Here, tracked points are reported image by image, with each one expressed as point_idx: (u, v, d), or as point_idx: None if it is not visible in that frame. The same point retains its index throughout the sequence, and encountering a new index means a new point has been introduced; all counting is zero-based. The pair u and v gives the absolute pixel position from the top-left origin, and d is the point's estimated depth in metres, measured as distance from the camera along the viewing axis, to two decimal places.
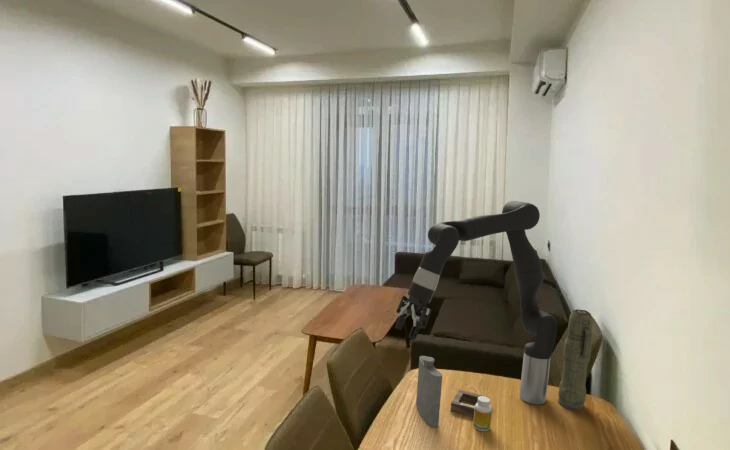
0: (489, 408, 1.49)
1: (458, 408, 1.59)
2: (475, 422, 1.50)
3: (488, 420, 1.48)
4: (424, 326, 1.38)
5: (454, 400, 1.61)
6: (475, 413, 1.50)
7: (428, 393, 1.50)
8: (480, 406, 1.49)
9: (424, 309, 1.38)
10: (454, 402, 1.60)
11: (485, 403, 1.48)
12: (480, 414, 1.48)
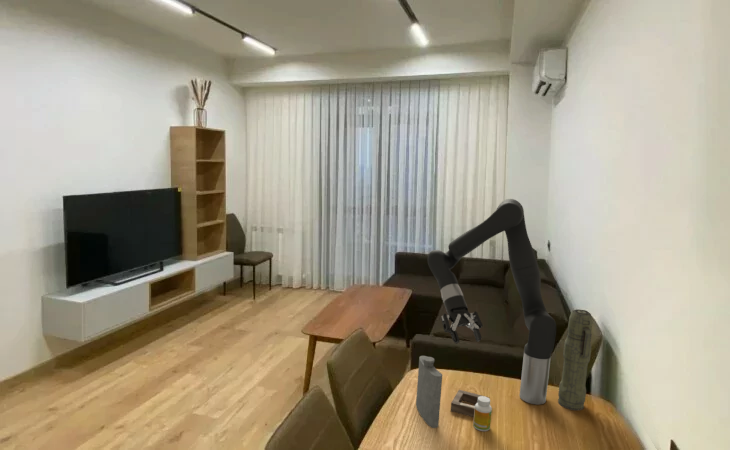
0: (489, 408, 1.49)
1: (458, 408, 1.59)
2: (475, 422, 1.50)
3: (488, 420, 1.48)
4: (446, 328, 1.58)
5: (454, 400, 1.61)
6: (475, 413, 1.50)
7: (428, 393, 1.50)
8: (480, 406, 1.49)
9: None
10: (454, 402, 1.60)
11: (485, 403, 1.48)
12: (480, 414, 1.48)
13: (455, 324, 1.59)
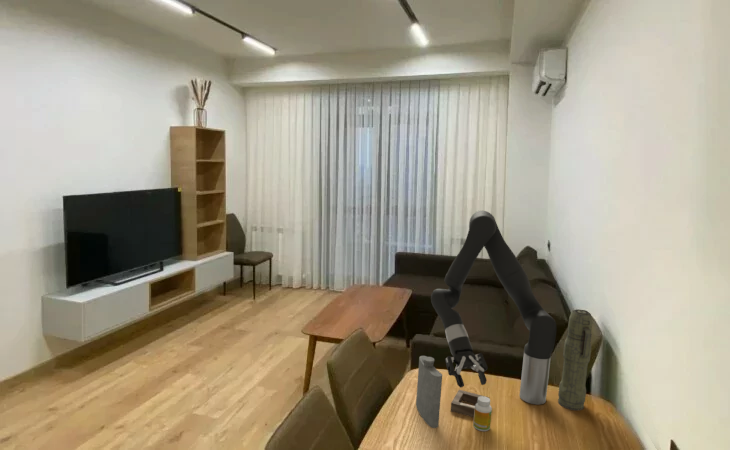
0: (489, 408, 1.49)
1: (458, 408, 1.59)
2: (475, 422, 1.50)
3: (488, 420, 1.48)
4: (450, 371, 1.56)
5: (454, 400, 1.61)
6: (475, 413, 1.50)
7: (428, 393, 1.50)
8: (480, 406, 1.49)
9: None
10: (454, 402, 1.60)
11: (485, 403, 1.48)
12: (480, 414, 1.48)
13: (460, 367, 1.57)
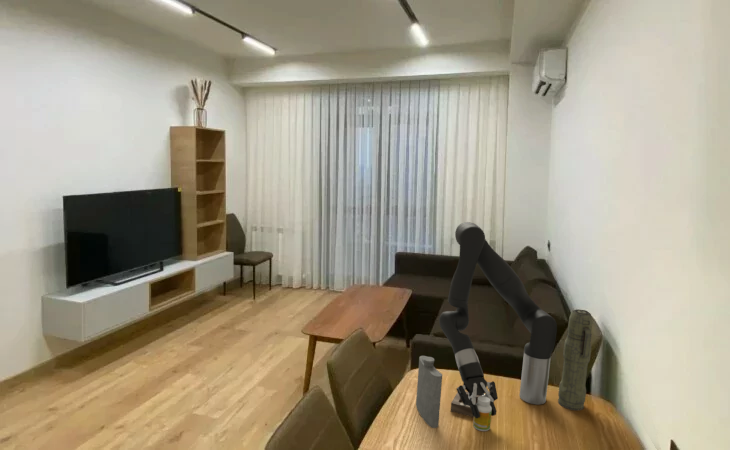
0: (489, 408, 1.49)
1: (458, 408, 1.59)
2: (475, 422, 1.50)
3: (488, 420, 1.48)
4: (466, 402, 1.49)
5: (454, 400, 1.61)
6: None
7: (428, 393, 1.50)
8: (480, 406, 1.49)
9: None
10: (454, 402, 1.60)
11: (485, 403, 1.48)
12: (480, 414, 1.48)
13: (474, 396, 1.50)
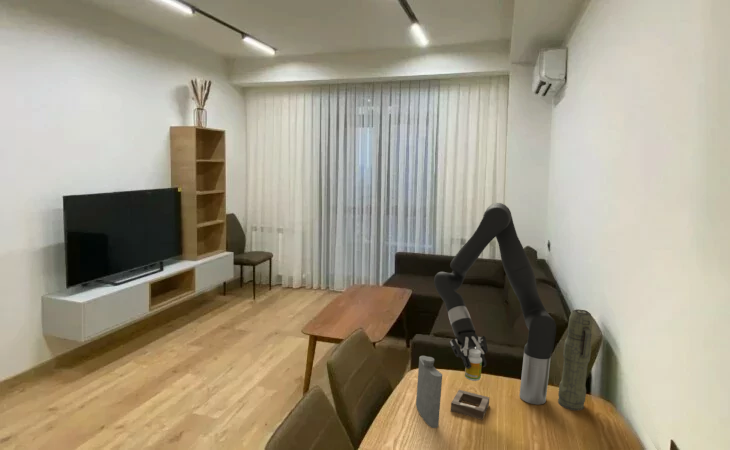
0: (480, 359, 1.58)
1: (458, 408, 1.59)
2: (466, 372, 1.60)
3: (479, 370, 1.58)
4: (458, 354, 1.59)
5: (454, 400, 1.61)
6: None
7: (428, 393, 1.50)
8: (472, 357, 1.59)
9: None
10: (454, 402, 1.60)
11: (476, 354, 1.58)
12: (471, 365, 1.58)
13: (466, 348, 1.60)
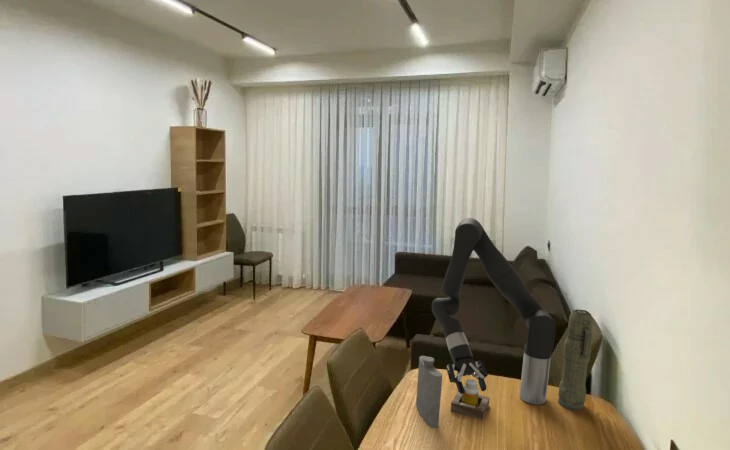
0: (476, 390, 1.60)
1: (458, 408, 1.59)
2: None
3: (475, 401, 1.60)
4: (451, 379, 1.60)
5: (454, 400, 1.61)
6: (463, 395, 1.61)
7: (428, 393, 1.50)
8: (468, 388, 1.60)
9: None
10: (454, 402, 1.60)
11: (472, 385, 1.60)
12: (467, 396, 1.60)
13: (461, 374, 1.61)
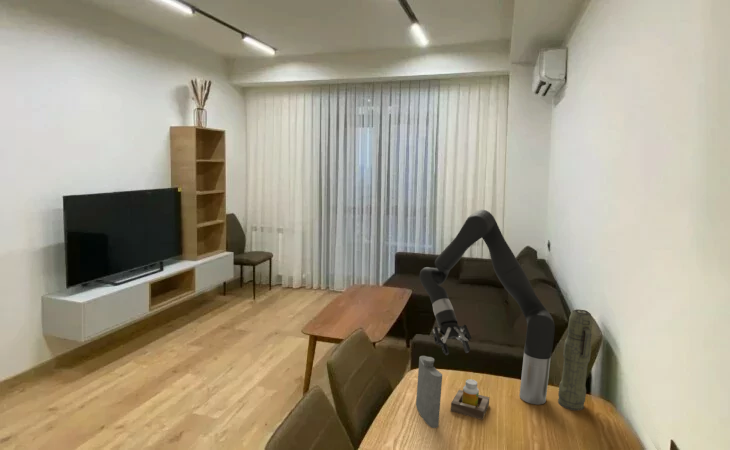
0: (476, 390, 1.60)
1: (458, 408, 1.59)
2: None
3: (475, 401, 1.60)
4: (437, 341, 1.70)
5: (454, 400, 1.61)
6: (463, 395, 1.61)
7: (428, 393, 1.50)
8: (468, 388, 1.60)
9: None
10: (454, 402, 1.60)
11: (472, 385, 1.60)
12: (467, 396, 1.60)
13: (446, 336, 1.71)
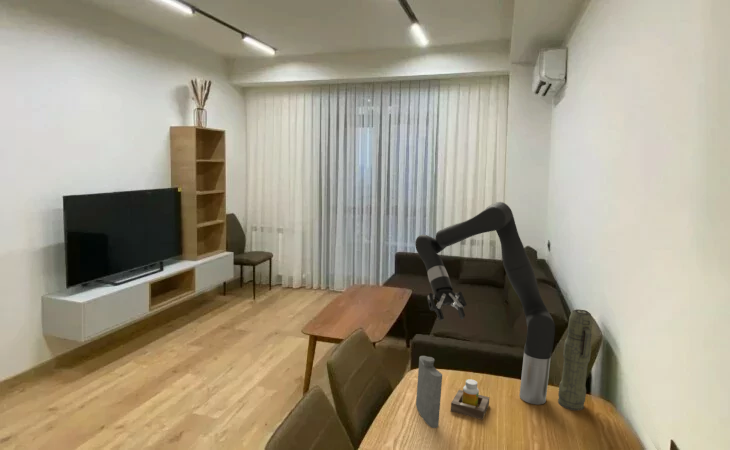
0: (476, 390, 1.60)
1: (458, 408, 1.59)
2: None
3: (475, 401, 1.60)
4: (431, 306, 1.68)
5: (454, 400, 1.61)
6: (463, 395, 1.61)
7: (428, 393, 1.50)
8: (468, 388, 1.60)
9: None
10: (454, 402, 1.60)
11: (472, 385, 1.60)
12: (467, 396, 1.60)
13: (440, 302, 1.69)
